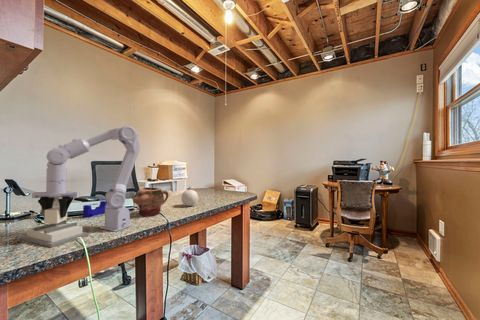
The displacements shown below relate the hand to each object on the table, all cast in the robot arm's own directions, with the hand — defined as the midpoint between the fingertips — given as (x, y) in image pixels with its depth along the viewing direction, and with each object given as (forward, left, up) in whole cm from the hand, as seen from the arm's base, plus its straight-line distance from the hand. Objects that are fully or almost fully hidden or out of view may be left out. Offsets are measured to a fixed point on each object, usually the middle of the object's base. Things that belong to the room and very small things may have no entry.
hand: (56, 217), depth 80 cm
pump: (0, 0, -2) cm, 2 cm away
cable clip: (+18, -27, -8) cm, 34 cm away
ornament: (-14, -66, -8) cm, 68 cm away
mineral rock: (+34, -18, -8) cm, 39 cm away
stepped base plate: (0, 0, -8) cm, 8 cm away
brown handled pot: (-7, -41, -8) cm, 42 cm away
